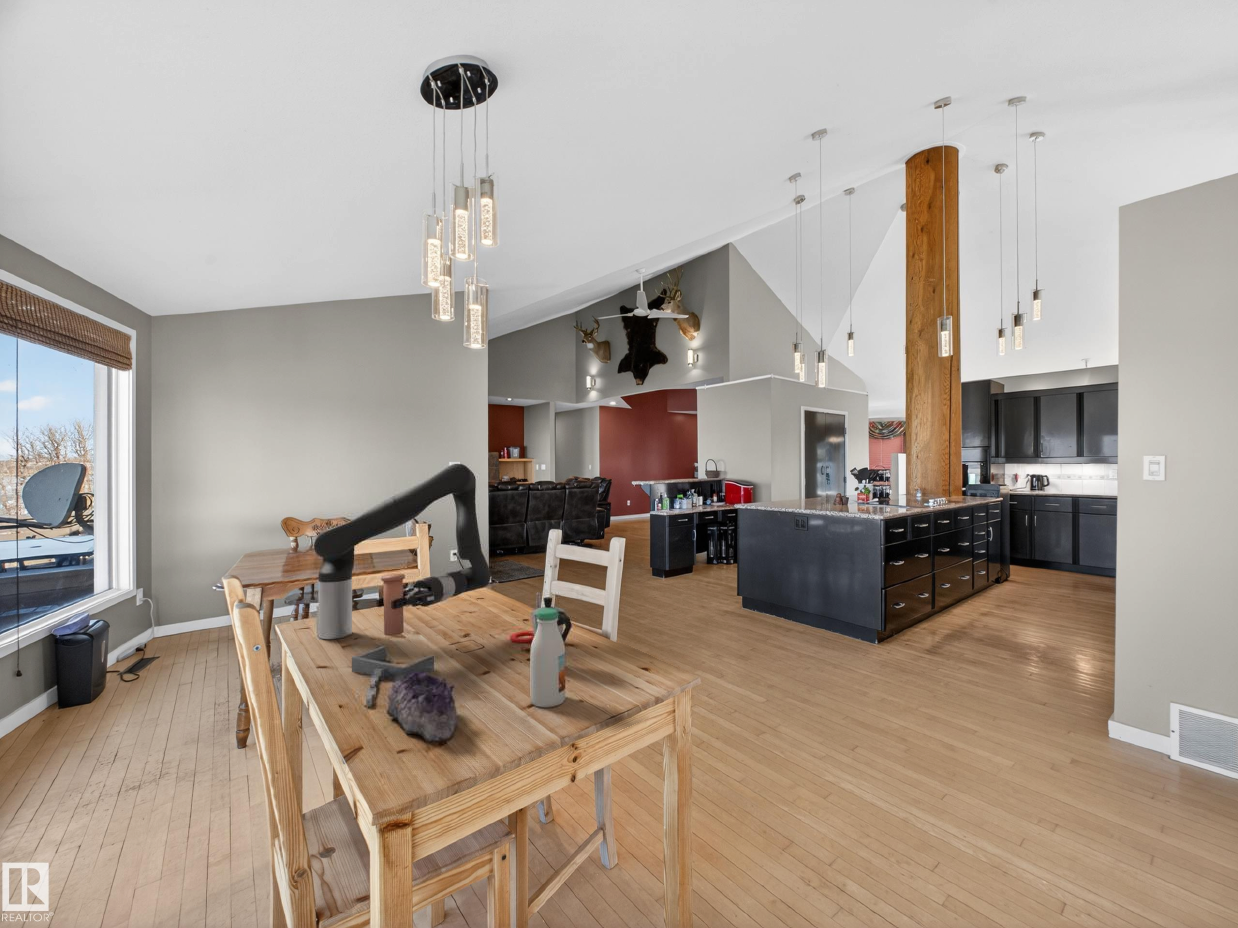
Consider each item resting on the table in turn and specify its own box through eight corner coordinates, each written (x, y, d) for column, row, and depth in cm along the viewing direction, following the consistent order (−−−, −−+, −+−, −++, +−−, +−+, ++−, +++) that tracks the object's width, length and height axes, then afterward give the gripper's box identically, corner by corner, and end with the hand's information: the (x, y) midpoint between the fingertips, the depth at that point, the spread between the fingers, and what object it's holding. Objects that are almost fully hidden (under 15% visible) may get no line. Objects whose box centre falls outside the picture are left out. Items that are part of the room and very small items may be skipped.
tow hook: (506, 644, 162) (540, 643, 161) (504, 597, 162) (537, 596, 161) (514, 635, 171) (545, 634, 170) (511, 590, 171) (543, 589, 170)
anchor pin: (377, 634, 139) (376, 577, 139) (394, 628, 144) (393, 573, 144) (393, 637, 137) (392, 578, 137) (410, 631, 142) (409, 574, 142)
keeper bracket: (347, 673, 138) (347, 659, 139) (383, 659, 149) (383, 646, 149) (399, 684, 131) (399, 670, 131) (434, 669, 141) (434, 655, 141)
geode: (480, 730, 109) (475, 682, 107) (423, 759, 101) (417, 708, 100) (435, 695, 123) (430, 653, 122) (383, 718, 116) (377, 673, 114)
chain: (364, 707, 118) (364, 699, 118) (371, 679, 134) (371, 672, 134) (373, 706, 119) (373, 698, 119) (379, 678, 135) (379, 671, 135)
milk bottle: (550, 711, 116) (550, 617, 116) (522, 703, 120) (522, 612, 120) (572, 698, 123) (572, 609, 123) (545, 691, 127) (545, 604, 127)
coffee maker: (519, 665, 143) (519, 596, 143) (545, 657, 149) (545, 591, 149) (556, 680, 133) (556, 606, 133) (583, 670, 139) (583, 599, 139)
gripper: (415, 574, 156) (364, 587, 141) (454, 578, 150) (405, 591, 135) (415, 600, 156) (364, 616, 141) (454, 605, 150) (405, 622, 135)
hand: (385, 604), depth 138 cm, fingers closed on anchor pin, 4 cm apart
